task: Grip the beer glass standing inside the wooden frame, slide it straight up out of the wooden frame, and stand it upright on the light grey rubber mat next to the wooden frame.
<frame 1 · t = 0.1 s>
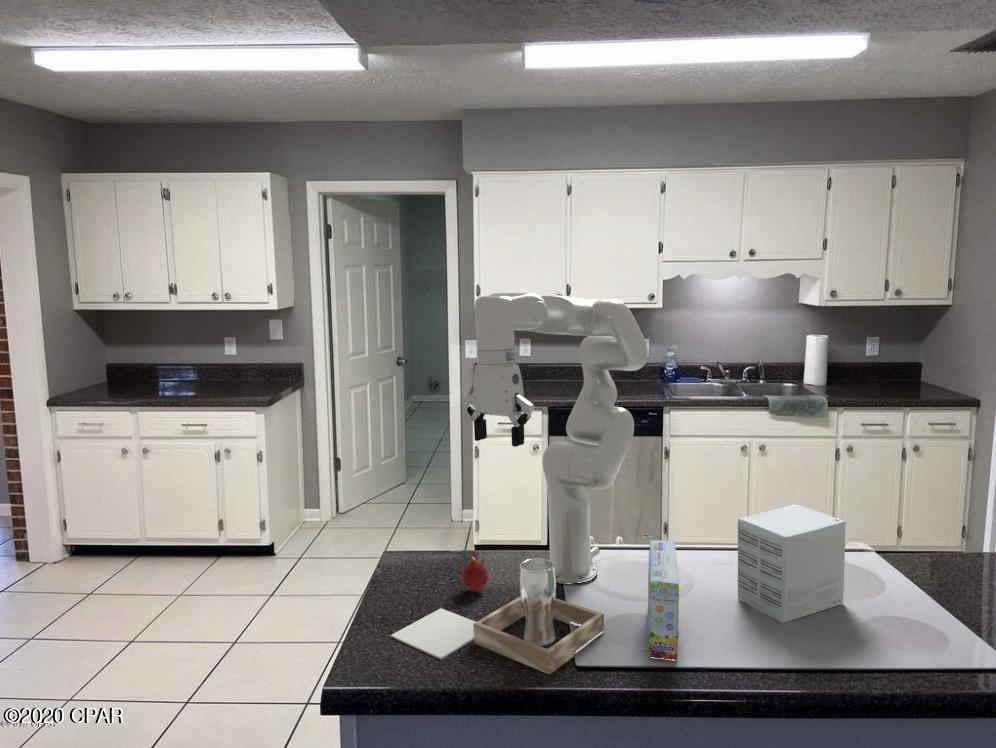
hand: (499, 442, 144), 37 cm above the table, tool pointing down, fingers open, 9 cm apart
supplement box: (789, 602, 150), on the table
snack box: (663, 633, 139), on the table
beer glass: (539, 639, 139), resting in wooden frame
onion: (475, 592, 160), on the table
wooden frame: (539, 638, 138), on the table
mat: (441, 633, 142), on the table
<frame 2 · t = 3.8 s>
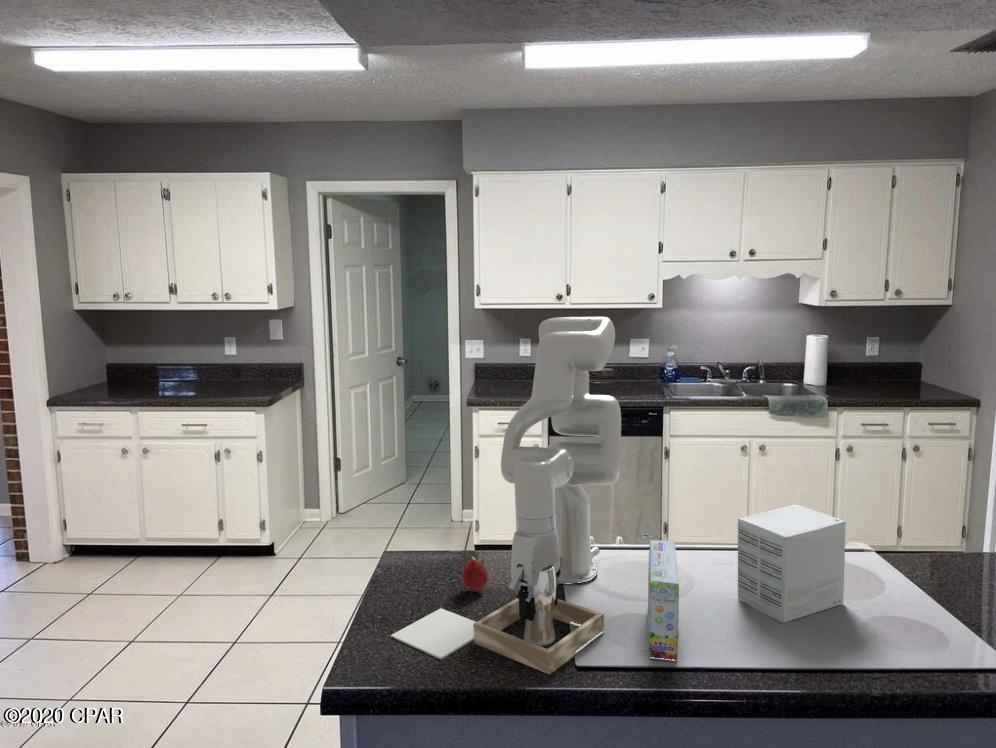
hand: (538, 610, 138), 6 cm above the table, tool pointing down, fingers closed on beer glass, 6 cm apart
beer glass: (539, 639, 139), resting in wooden frame, touching gripper
everything else where it was.
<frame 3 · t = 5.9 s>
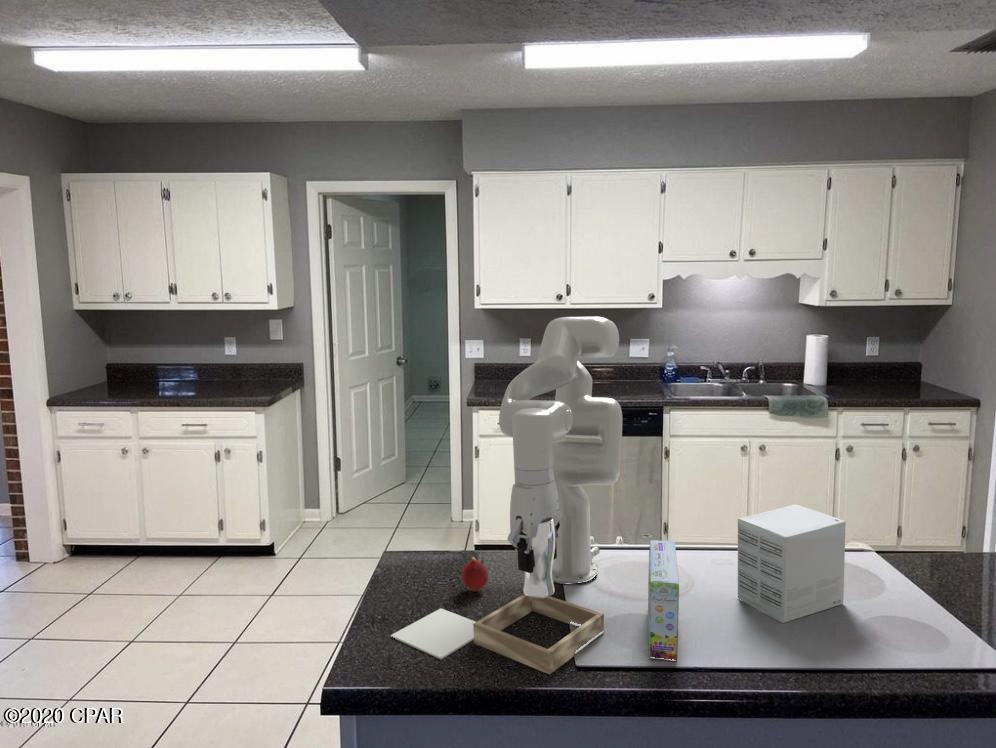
hand: (537, 563, 137), 15 cm above the table, tool pointing down, fingers closed on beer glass, 6 cm apart
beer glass: (539, 592, 138), point 9 cm above the table, touching gripper
everything else where it was.
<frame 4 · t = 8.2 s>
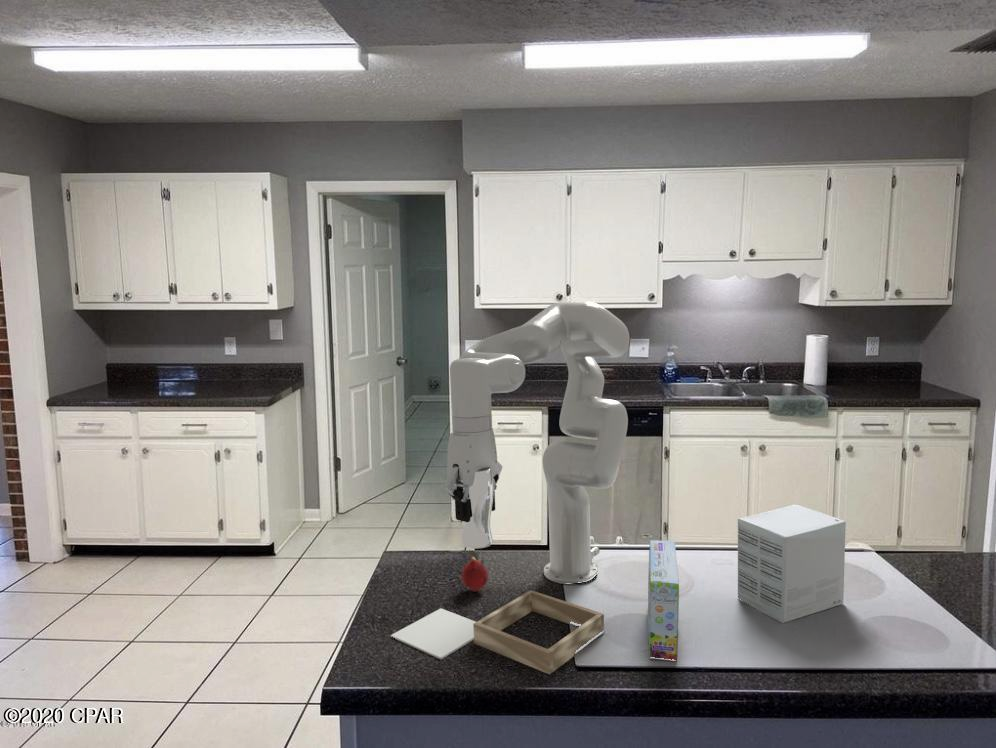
hand: (475, 514, 137), 25 cm above the table, tool pointing down, fingers closed on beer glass, 6 cm apart
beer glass: (477, 544, 138), point 19 cm above the table, touching gripper
everything else where it was.
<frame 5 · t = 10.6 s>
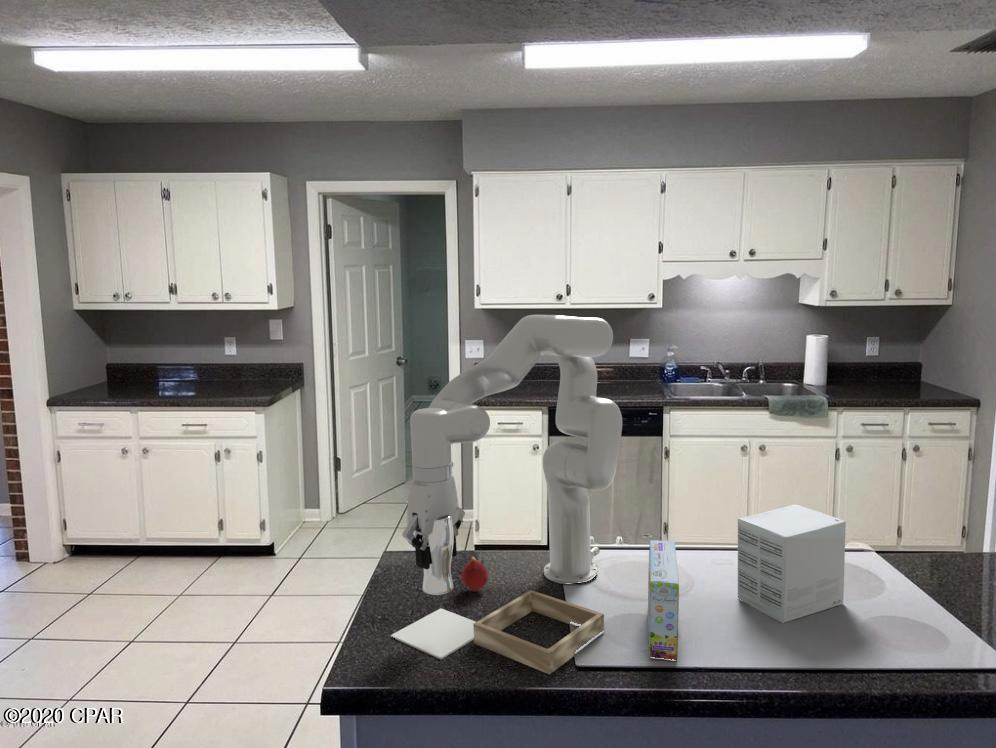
hand: (436, 560, 140), 15 cm above the table, tool pointing down, fingers closed on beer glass, 6 cm apart
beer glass: (438, 589, 140), point 9 cm above the table, touching gripper
everything else where it was.
when the fingers open (8 cm above the table, at t = 12.6 s): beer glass drops 1 cm, resting on mat.
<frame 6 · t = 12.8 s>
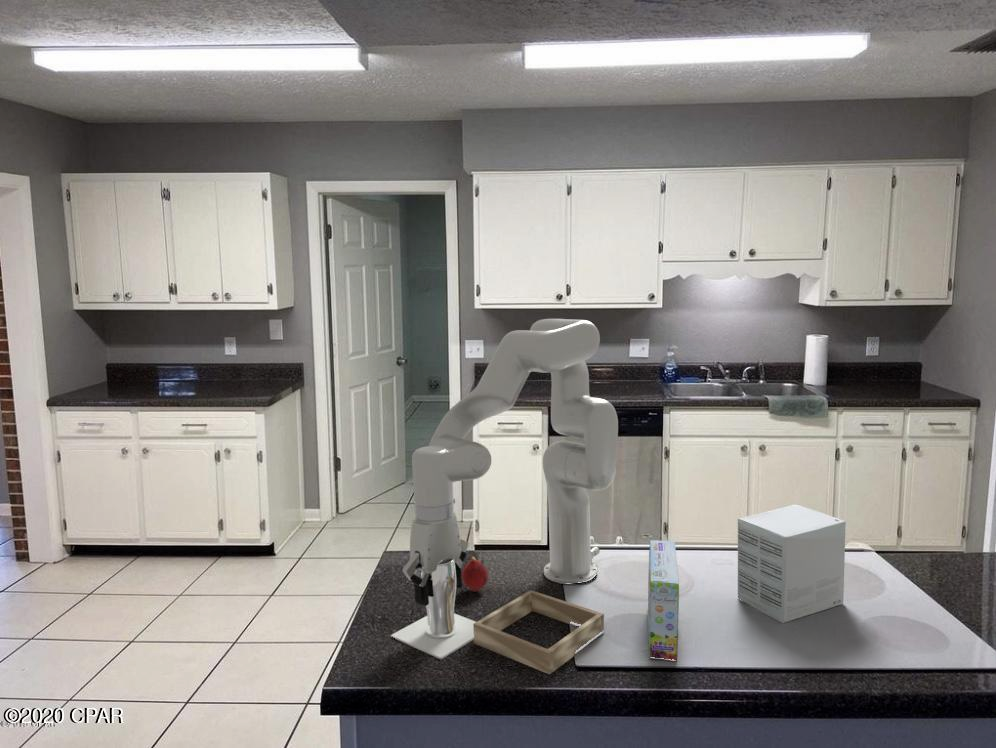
hand: (439, 594, 141), 8 cm above the table, tool pointing down, fingers open, 8 cm apart
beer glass: (441, 631, 142), resting on mat
everything else where it was.
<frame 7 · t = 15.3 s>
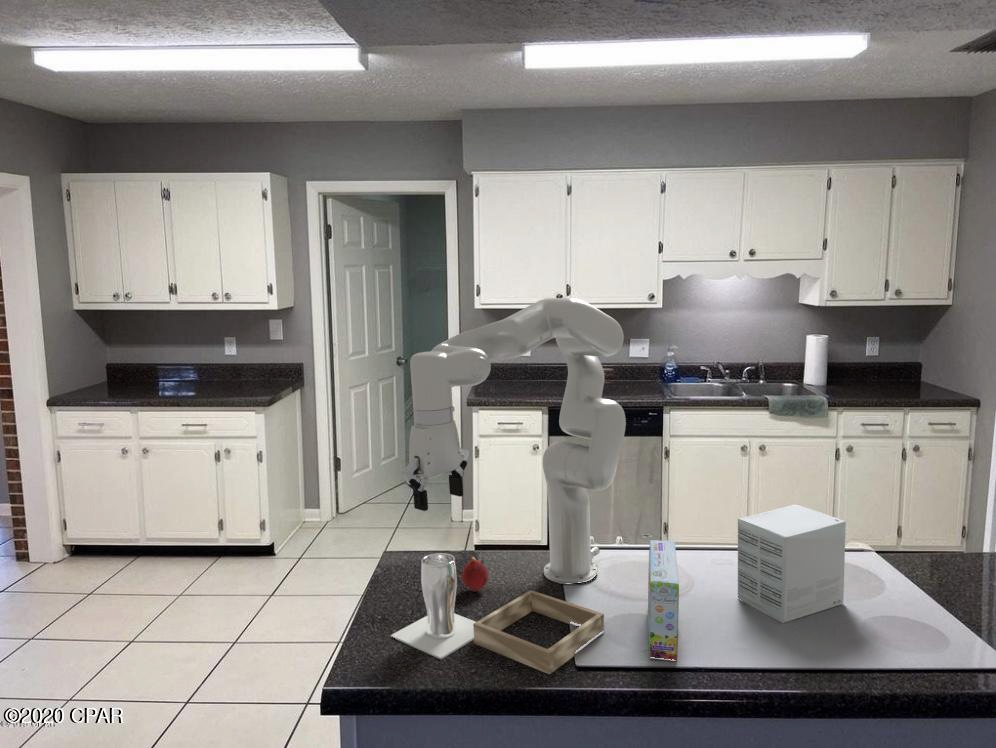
hand: (439, 502, 139), 27 cm above the table, tool pointing down, fingers open, 9 cm apart
nothing on the table moved.
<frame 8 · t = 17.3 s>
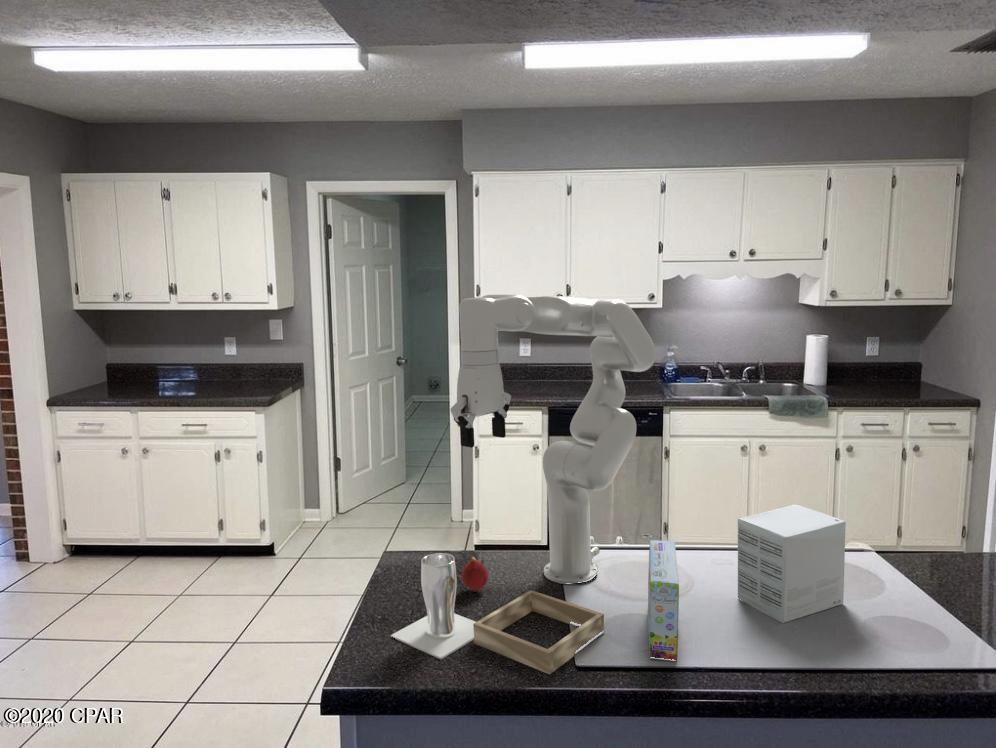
hand: (483, 441, 147), 36 cm above the table, tool pointing down, fingers open, 9 cm apart
nothing on the table moved.
at the end: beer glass inside the target area on the mat (0.1 cm from its centre), point 0.2 cm above the mat's base; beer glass tilted 0°; the gripper is holding nothing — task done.
